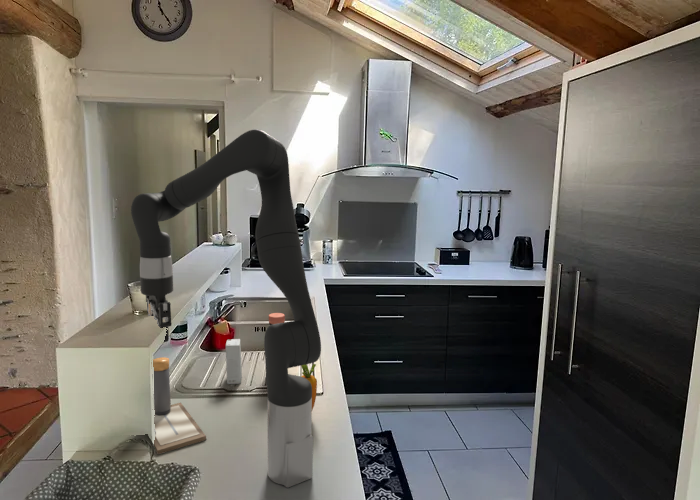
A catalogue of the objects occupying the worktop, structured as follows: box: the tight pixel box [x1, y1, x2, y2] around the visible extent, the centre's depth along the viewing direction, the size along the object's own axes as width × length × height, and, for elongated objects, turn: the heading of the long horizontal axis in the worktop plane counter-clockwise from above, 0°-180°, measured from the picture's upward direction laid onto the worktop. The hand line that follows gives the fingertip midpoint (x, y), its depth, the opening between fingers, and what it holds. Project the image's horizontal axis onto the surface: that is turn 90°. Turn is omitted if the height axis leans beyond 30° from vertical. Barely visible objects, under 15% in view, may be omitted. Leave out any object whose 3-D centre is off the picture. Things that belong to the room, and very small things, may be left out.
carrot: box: [300, 363, 318, 411], centre depth 125 cm, size 5×5×15 cm
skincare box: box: [225, 338, 243, 385], centre depth 147 cm, size 6×4×12 cm
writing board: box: [153, 402, 207, 455], centre depth 119 cm, size 20×11×2 cm, turn 36°
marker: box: [152, 357, 172, 416], centre depth 124 cm, size 4×4×14 cm
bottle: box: [268, 312, 286, 326], centre depth 149 cm, size 7×7×20 cm
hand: (159, 336), depth 122 cm, fingers open, 8 cm apart
